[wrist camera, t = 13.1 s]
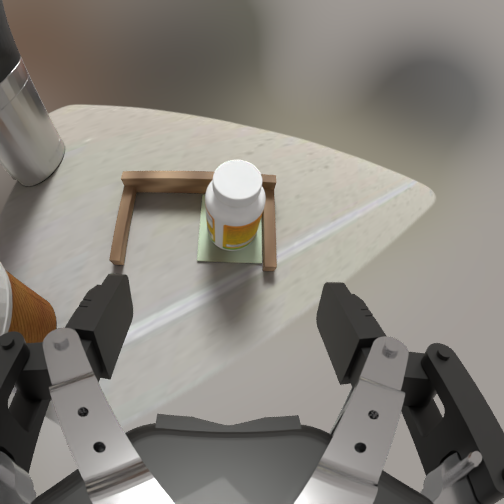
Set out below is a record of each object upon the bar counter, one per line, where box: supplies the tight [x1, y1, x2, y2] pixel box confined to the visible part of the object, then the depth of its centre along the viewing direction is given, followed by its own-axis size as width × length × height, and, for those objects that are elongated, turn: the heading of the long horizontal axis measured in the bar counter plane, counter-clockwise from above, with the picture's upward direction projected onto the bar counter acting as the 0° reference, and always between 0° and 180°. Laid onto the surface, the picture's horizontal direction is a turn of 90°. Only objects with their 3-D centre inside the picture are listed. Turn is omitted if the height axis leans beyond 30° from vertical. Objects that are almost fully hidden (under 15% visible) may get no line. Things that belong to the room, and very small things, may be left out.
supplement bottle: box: [205, 160, 266, 251], centre depth 27 cm, size 5×5×10 cm
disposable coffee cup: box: [0, 262, 56, 343], centre depth 19 cm, size 10×10×12 cm
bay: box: [110, 171, 277, 271], centre depth 30 cm, size 17×10×3 cm, turn 90°
